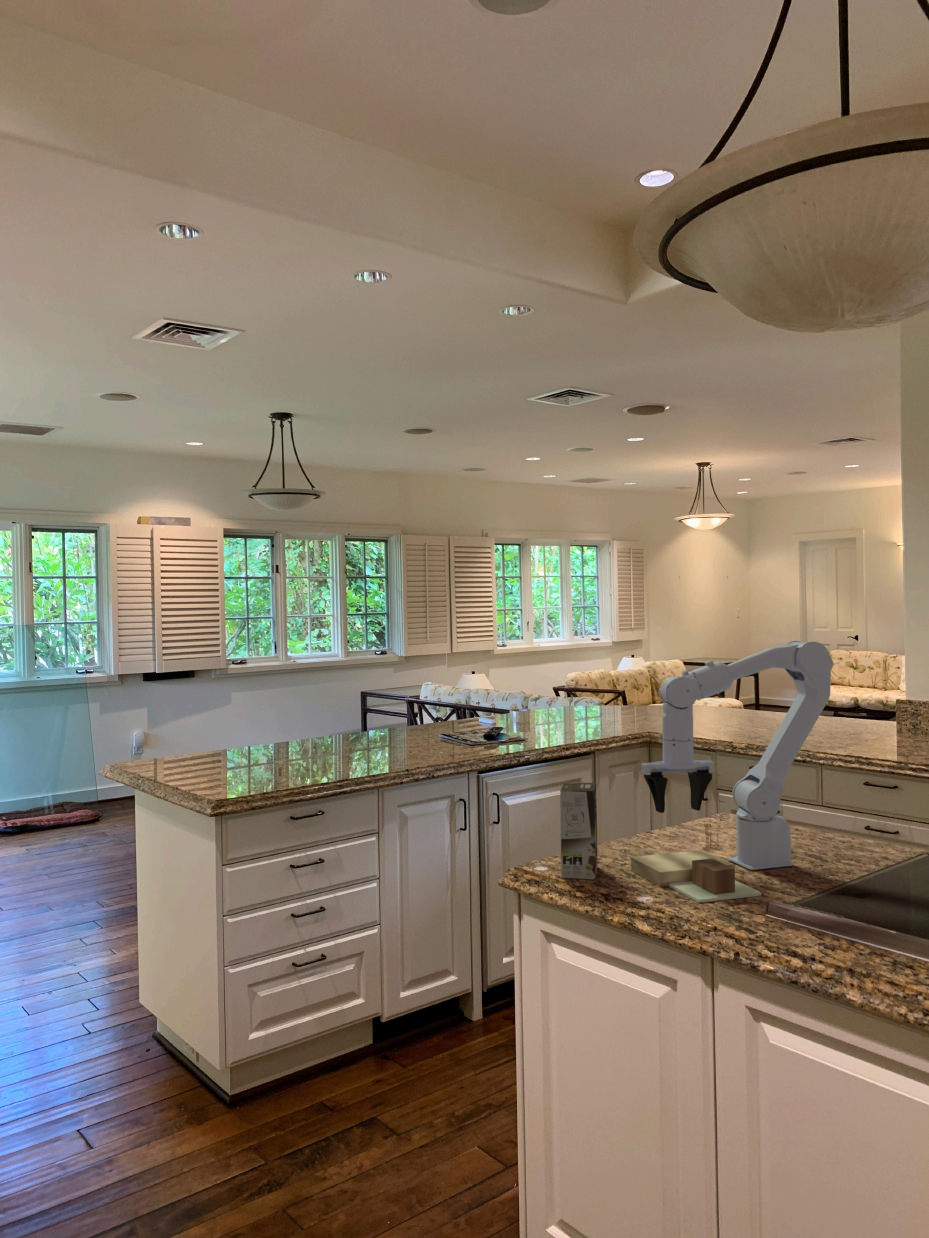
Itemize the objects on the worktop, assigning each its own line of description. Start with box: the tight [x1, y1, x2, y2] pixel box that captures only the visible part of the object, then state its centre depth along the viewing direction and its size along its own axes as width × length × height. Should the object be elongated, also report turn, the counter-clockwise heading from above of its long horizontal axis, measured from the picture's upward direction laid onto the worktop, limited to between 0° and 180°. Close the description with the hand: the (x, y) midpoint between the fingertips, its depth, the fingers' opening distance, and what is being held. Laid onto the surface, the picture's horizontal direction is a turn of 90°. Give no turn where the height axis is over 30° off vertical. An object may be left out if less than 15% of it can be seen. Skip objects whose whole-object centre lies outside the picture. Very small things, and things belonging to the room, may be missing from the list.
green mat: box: [668, 879, 762, 904], centre depth 152 cm, size 12×10×1 cm
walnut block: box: [692, 859, 736, 895], centre depth 152 cm, size 4×4×7 cm
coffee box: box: [559, 782, 599, 881], centre depth 165 cm, size 9×6×16 cm
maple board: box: [630, 849, 735, 888], centre depth 162 cm, size 15×11×2 cm
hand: (677, 810), depth 168 cm, fingers open, 7 cm apart
